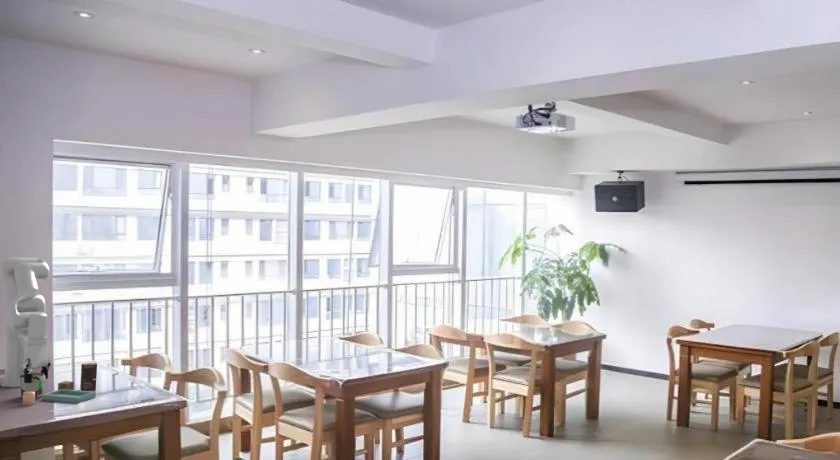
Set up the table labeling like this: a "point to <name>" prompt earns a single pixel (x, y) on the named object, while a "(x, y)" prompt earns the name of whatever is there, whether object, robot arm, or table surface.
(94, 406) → the table surface
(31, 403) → the beige rounded cube
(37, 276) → the robot arm
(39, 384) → the food container
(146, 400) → the table surface
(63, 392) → the tray
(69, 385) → the walnut block
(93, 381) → the box
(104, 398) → the table surface
